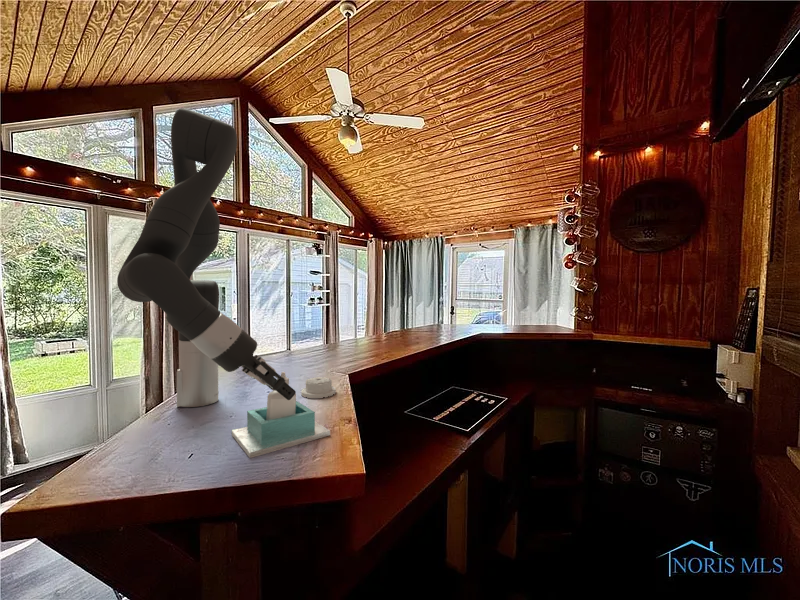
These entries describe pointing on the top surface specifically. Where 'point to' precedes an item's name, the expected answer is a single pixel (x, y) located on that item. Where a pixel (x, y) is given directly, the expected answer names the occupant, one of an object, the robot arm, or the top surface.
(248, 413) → the tray
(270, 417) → the eye dropper bottle
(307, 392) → the mechanical component
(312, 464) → the top surface
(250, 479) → the top surface
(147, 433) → the top surface
